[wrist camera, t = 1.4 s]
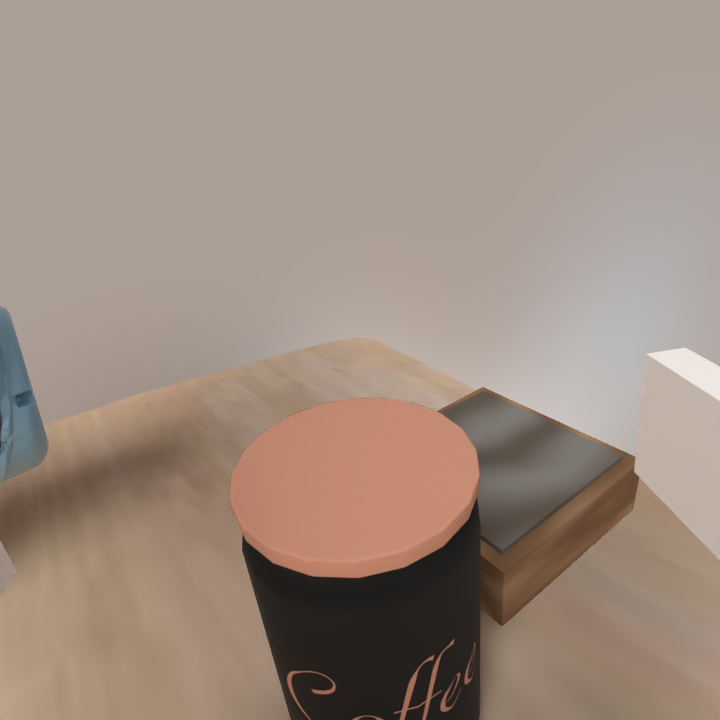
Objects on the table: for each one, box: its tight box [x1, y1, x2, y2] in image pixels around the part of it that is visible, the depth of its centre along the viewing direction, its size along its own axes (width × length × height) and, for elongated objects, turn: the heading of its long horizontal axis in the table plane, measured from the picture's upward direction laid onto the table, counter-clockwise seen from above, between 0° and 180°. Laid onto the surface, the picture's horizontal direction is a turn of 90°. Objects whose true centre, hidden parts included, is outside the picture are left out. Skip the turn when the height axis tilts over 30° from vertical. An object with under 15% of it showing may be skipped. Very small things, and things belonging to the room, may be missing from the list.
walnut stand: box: [437, 387, 639, 626], centre depth 42 cm, size 16×16×5 cm
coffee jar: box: [229, 398, 481, 720], centre depth 26 cm, size 11×11×18 cm
